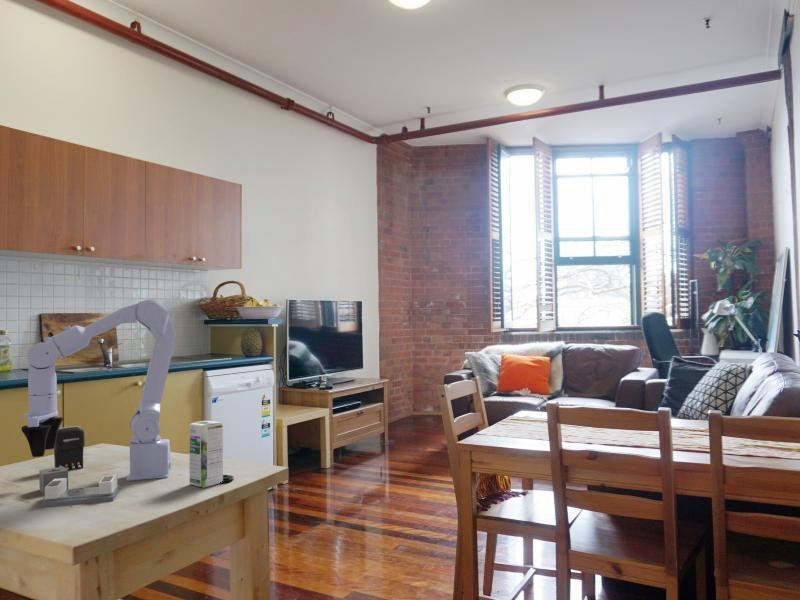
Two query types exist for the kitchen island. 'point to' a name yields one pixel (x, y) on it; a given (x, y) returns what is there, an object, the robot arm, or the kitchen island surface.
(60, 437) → the battery charger
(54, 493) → the mounted modules
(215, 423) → the syrup box
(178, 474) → the kitchen island surface
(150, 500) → the kitchen island surface
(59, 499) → the board
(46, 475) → the dice cube
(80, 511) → the kitchen island surface
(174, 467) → the kitchen island surface
